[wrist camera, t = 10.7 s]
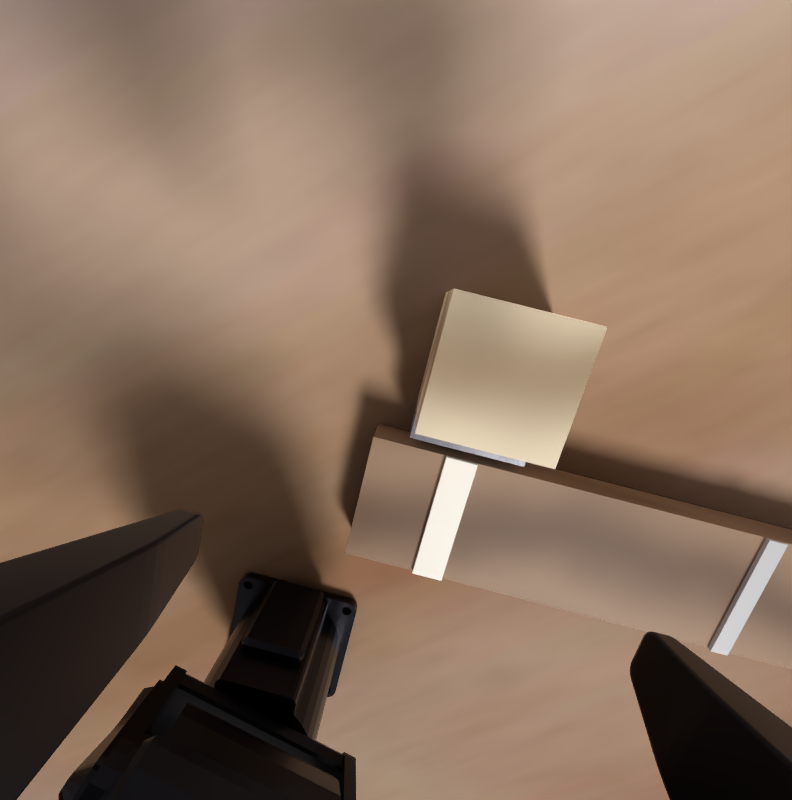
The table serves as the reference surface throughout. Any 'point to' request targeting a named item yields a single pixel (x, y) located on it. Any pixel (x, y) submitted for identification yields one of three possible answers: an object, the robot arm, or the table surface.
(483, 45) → the table surface
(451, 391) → the cream cube
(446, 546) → the walnut plank
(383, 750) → the table surface
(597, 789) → the table surface
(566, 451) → the table surface
